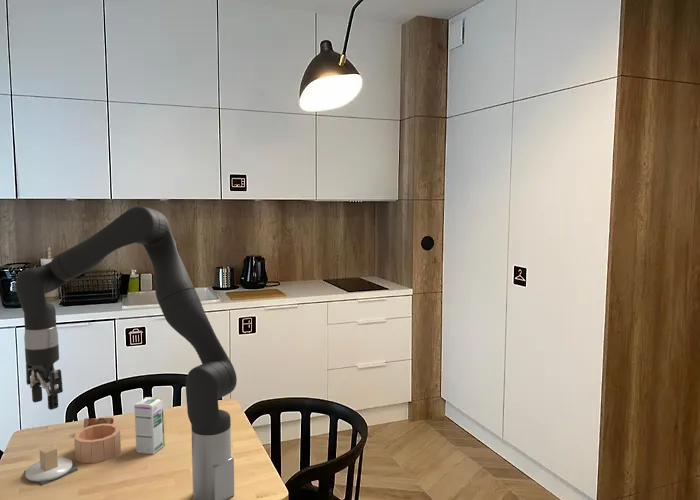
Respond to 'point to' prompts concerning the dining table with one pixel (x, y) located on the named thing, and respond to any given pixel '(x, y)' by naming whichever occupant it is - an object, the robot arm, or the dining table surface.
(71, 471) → the mat
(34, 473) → the lid
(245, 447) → the dining table surface
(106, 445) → the bowl
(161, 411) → the syrup box
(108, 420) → the fruit slice
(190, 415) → the robot arm
